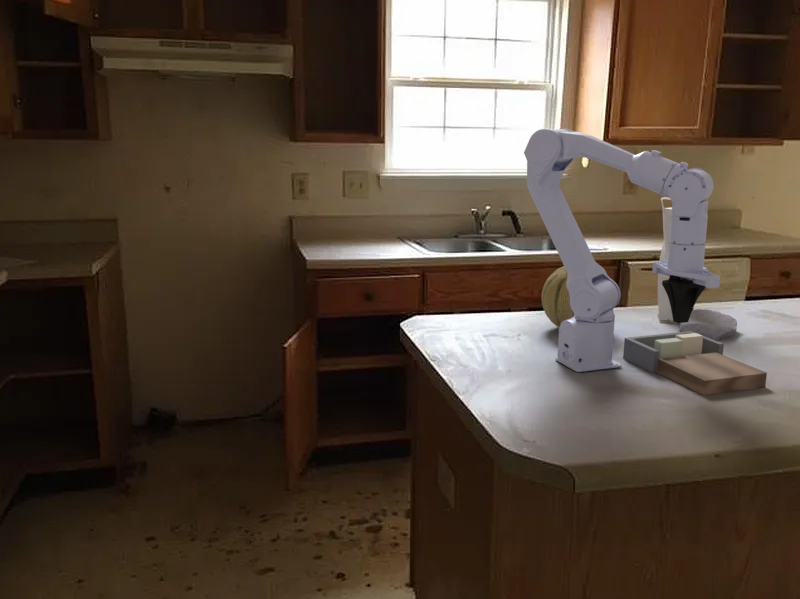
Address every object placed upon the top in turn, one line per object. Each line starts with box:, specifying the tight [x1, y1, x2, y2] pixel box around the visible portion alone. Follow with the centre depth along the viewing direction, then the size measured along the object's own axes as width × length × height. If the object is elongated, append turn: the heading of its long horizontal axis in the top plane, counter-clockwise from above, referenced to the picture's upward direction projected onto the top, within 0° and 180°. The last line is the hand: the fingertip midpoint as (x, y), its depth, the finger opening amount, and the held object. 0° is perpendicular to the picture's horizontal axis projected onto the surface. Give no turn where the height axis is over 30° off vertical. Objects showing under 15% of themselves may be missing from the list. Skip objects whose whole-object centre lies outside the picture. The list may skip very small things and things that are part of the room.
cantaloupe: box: [541, 265, 574, 328], centre depth 155 cm, size 15×15×15 cm
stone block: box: [678, 308, 738, 341], centre depth 154 cm, size 12×5×10 cm
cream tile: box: [675, 333, 703, 356], centre depth 135 cm, size 4×4×2 cm
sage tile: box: [654, 338, 683, 359], centre depth 132 cm, size 4×4×2 cm
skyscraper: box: [657, 196, 695, 325], centre depth 162 cm, size 8×8×28 cm
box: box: [622, 331, 725, 374], centre depth 135 cm, size 15×9×4 cm, turn 108°
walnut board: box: [657, 352, 768, 396], centre depth 125 cm, size 12×12×2 cm
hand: (680, 321), depth 123 cm, fingers closed
